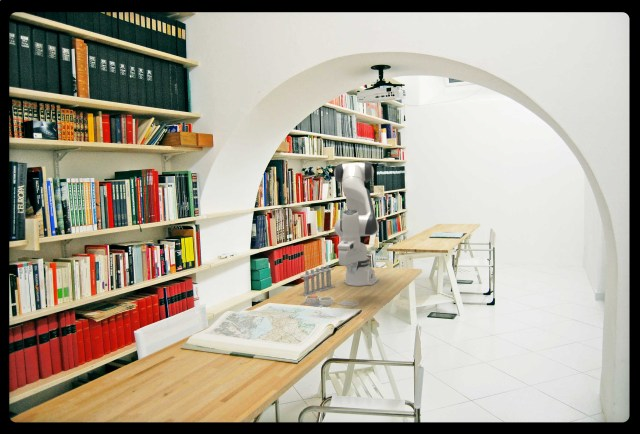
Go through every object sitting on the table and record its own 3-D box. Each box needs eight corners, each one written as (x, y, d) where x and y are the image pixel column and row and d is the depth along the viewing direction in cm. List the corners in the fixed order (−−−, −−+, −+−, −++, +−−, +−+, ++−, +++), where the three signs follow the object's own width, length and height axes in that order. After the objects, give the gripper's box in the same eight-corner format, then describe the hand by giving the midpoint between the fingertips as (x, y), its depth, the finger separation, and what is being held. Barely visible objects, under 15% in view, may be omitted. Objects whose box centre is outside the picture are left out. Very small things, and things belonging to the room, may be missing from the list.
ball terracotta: (307, 301, 243) (308, 294, 243) (311, 299, 247) (312, 292, 246) (313, 303, 241) (314, 296, 240) (318, 302, 245) (319, 294, 244)
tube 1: (311, 299, 249) (310, 294, 248) (322, 301, 245) (321, 296, 245) (303, 302, 243) (303, 297, 243) (314, 304, 239) (314, 299, 239)
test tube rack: (306, 296, 257) (305, 272, 256) (300, 295, 260) (299, 271, 259) (335, 287, 276) (334, 264, 275) (329, 286, 279) (328, 263, 278)
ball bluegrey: (350, 272, 238) (350, 265, 238) (357, 273, 236) (357, 265, 236) (346, 274, 235) (346, 266, 234) (354, 275, 233) (353, 267, 232)
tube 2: (324, 301, 244) (323, 296, 244) (335, 302, 240) (335, 297, 240) (316, 304, 239) (316, 299, 238) (328, 306, 235) (328, 301, 235)
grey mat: (342, 301, 244) (342, 300, 243) (360, 303, 238) (360, 303, 238) (336, 304, 238) (336, 303, 238) (354, 307, 233) (354, 306, 233)
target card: (310, 300, 249) (310, 299, 249) (335, 303, 241) (335, 302, 241) (299, 305, 240) (299, 304, 240) (325, 308, 232) (325, 307, 232)
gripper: (355, 240, 245) (356, 266, 246) (335, 246, 227) (336, 275, 228) (366, 240, 241) (367, 267, 243) (347, 246, 224) (348, 276, 225)
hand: (352, 271), depth 235 cm, fingers closed on ball bluegrey, 4 cm apart
